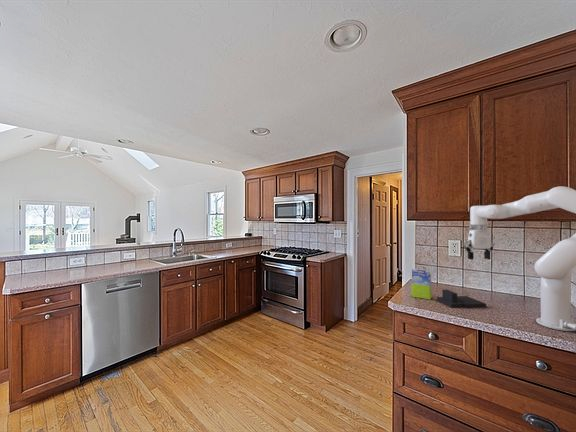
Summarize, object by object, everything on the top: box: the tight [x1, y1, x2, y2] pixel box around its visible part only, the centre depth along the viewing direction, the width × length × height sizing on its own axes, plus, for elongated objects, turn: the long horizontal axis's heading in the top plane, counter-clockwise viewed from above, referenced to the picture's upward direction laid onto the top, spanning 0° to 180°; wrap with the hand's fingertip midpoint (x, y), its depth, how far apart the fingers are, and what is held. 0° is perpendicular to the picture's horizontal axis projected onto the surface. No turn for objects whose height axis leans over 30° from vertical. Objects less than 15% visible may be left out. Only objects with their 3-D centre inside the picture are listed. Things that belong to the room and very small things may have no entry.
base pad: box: [457, 295, 487, 309], centre depth 147 cm, size 14×12×2 cm
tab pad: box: [436, 289, 464, 308], centre depth 147 cm, size 12×10×7 cm
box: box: [411, 268, 432, 301], centre depth 158 cm, size 10×4×17 cm, turn 54°
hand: (479, 259), depth 141 cm, fingers open, 9 cm apart
